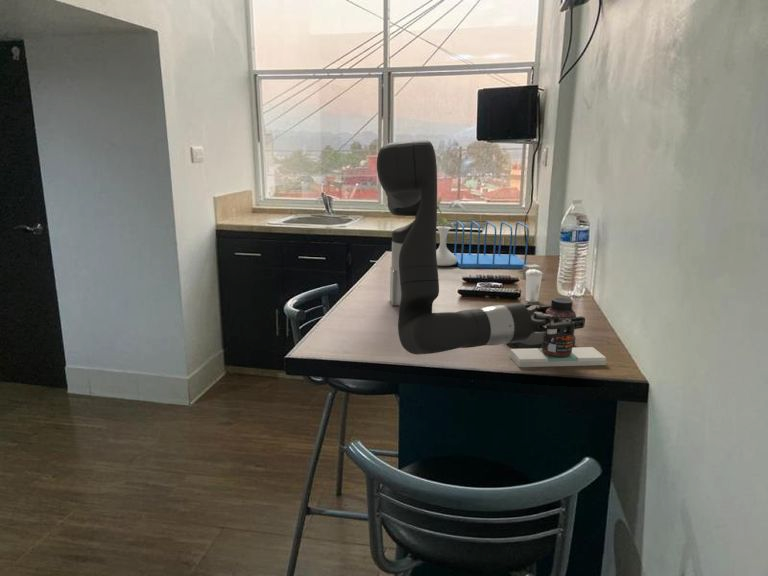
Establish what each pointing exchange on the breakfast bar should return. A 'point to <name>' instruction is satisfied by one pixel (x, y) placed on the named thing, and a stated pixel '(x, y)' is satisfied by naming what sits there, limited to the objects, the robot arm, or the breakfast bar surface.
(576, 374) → the breakfast bar surface
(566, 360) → the key strip
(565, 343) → the supplement bottle
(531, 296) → the milkshake
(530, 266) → the usb wall charger
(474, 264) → the file sorter
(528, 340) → the media streaming box
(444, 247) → the flower in vase
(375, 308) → the breakfast bar surface
